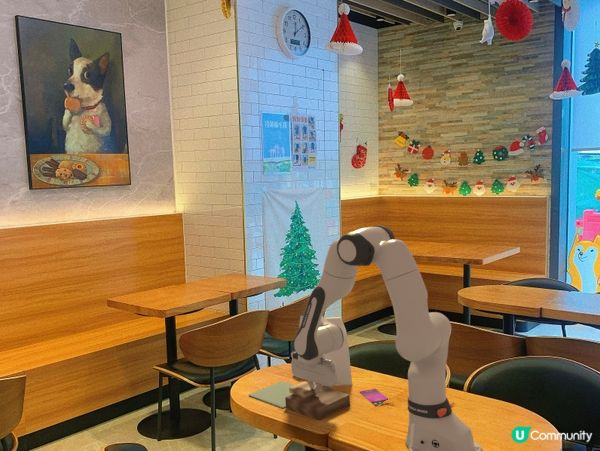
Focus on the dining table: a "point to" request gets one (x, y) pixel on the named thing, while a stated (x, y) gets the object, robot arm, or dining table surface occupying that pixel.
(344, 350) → the milk
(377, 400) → the smartphone
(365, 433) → the dining table surface
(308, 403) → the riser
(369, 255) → the robot arm
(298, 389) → the coaster
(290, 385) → the mat
